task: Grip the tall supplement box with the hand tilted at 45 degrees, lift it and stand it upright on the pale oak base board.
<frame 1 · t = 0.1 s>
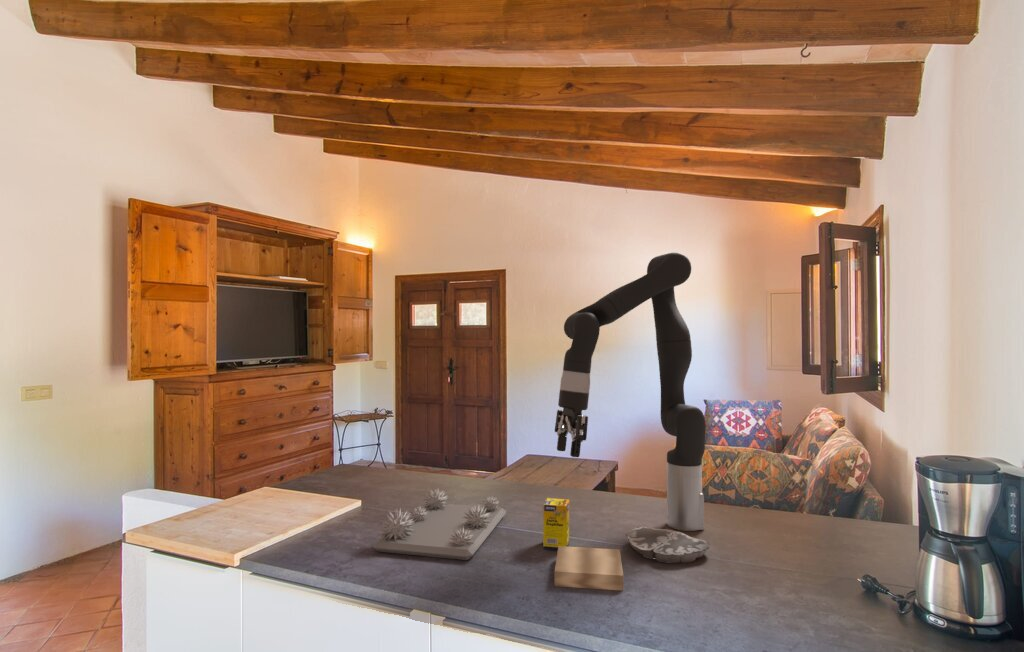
hand: (567, 453, 136), 22 cm above the counter, tool pointing down, fingers open, 8 cm apart
decorative tray: (444, 535, 143), on the counter
oak base board: (588, 573, 117), on the counter
supplement box: (556, 547, 133), on the counter
brain slice: (664, 554, 129), on the counter
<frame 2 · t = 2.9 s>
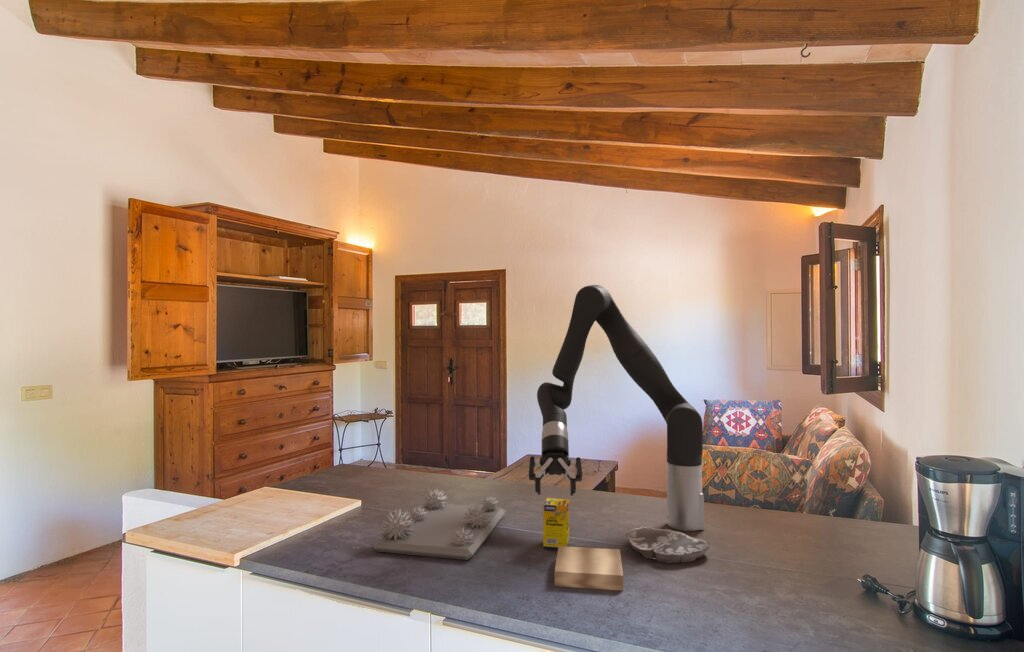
hand: (555, 493, 140), 11 cm above the counter, tool tilted 45°, fingers open, 8 cm apart
nothing on the counter moved.
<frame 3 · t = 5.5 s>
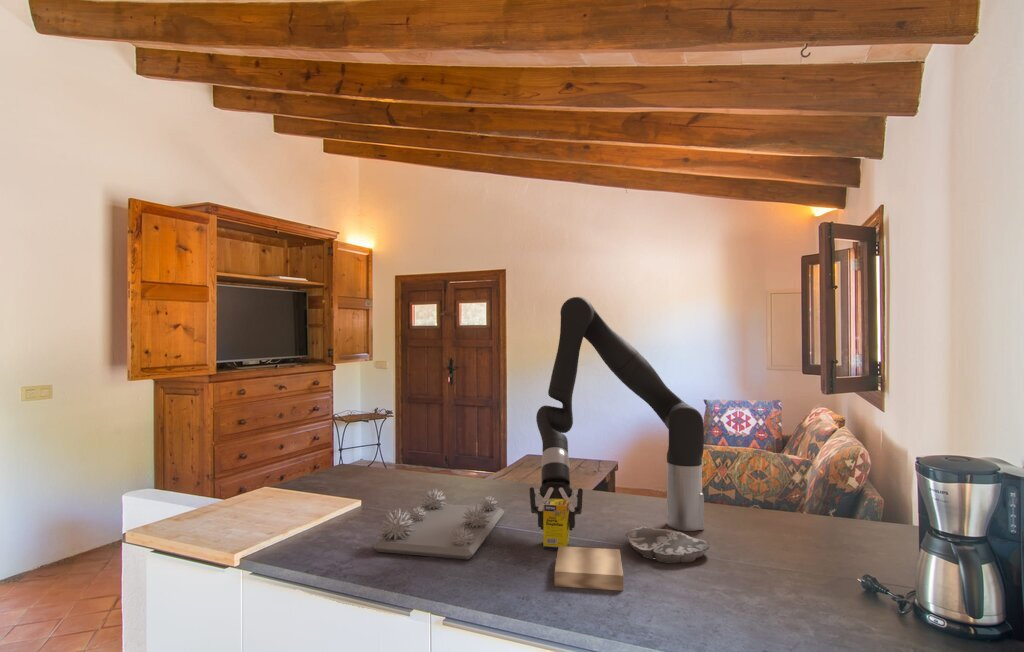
hand: (556, 528, 132), 5 cm above the counter, tool tilted 45°, fingers closed on supplement box, 6 cm apart
supplement box: (556, 546, 133), on the counter, touching gripper
everything else where it was.
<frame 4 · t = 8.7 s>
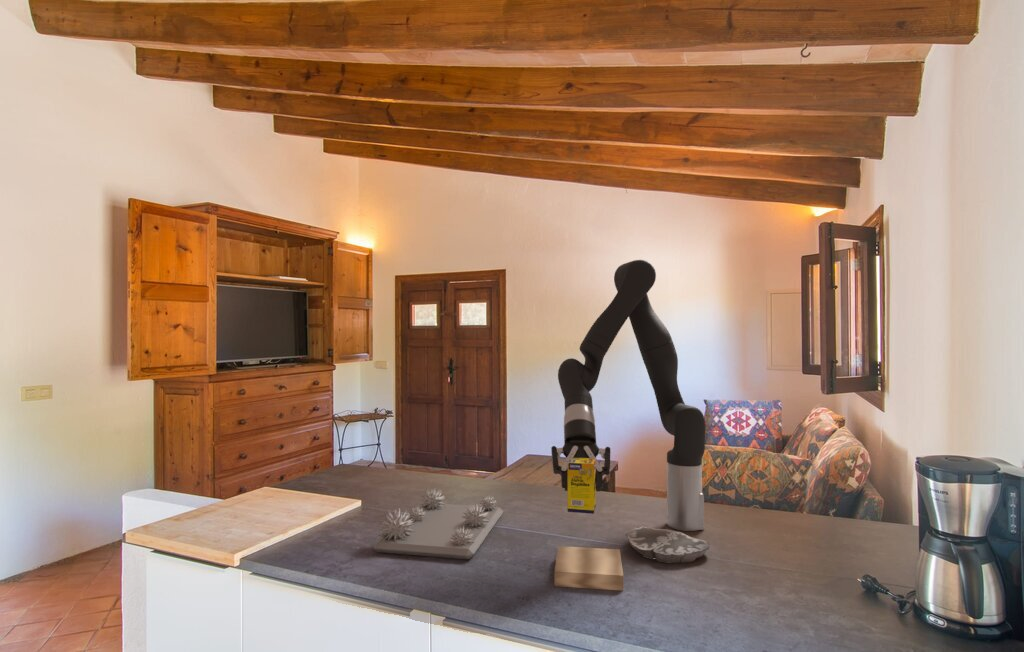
hand: (582, 489, 119), 18 cm above the counter, tool tilted 45°, fingers closed on supplement box, 6 cm apart
supplement box: (582, 510, 120), point 13 cm above the counter, touching gripper
everything else where it was.
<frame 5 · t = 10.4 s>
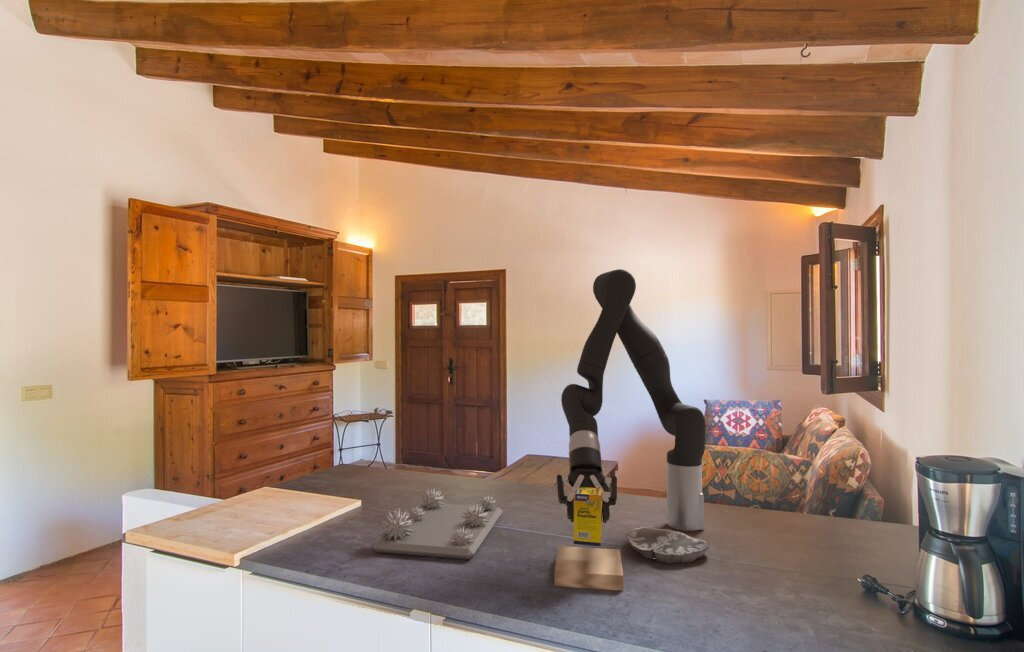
hand: (588, 520, 116), 12 cm above the counter, tool tilted 45°, fingers closed on supplement box, 6 cm apart
supplement box: (587, 541, 118), point 7 cm above the counter, touching gripper
everything else where it was.
when the fingers open (9 cm above the counter, at t = 12.0 s): supplement box drops 1 cm, resting on oak base board.
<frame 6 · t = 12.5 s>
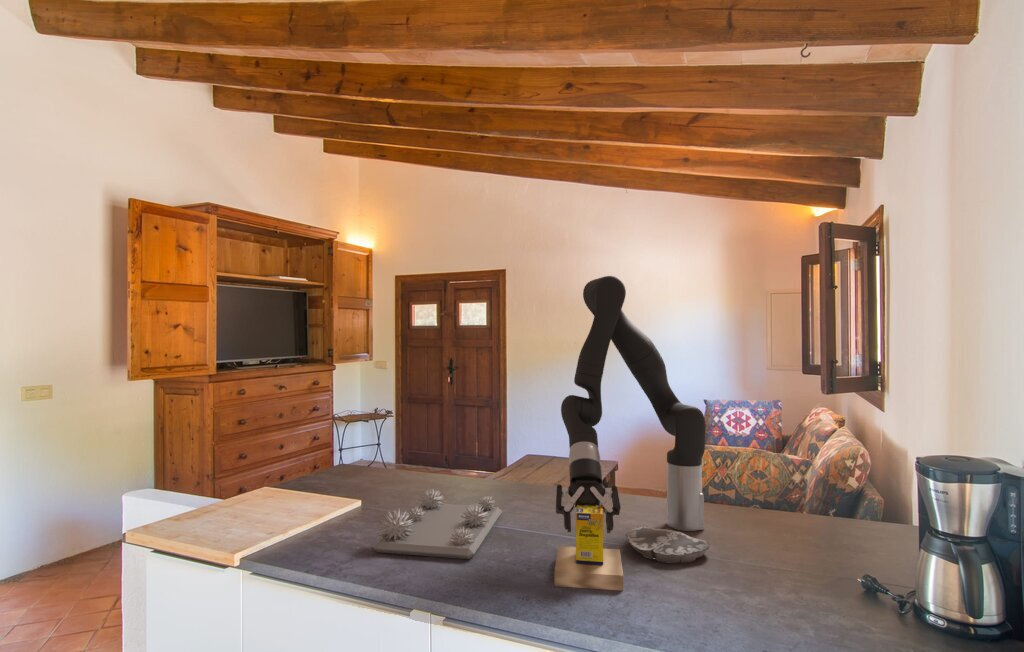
hand: (589, 531, 116), 10 cm above the counter, tool tilted 45°, fingers open, 8 cm apart
supplement box: (589, 560, 117), point 3 cm above the counter, touching oak base board
everything else where it was.
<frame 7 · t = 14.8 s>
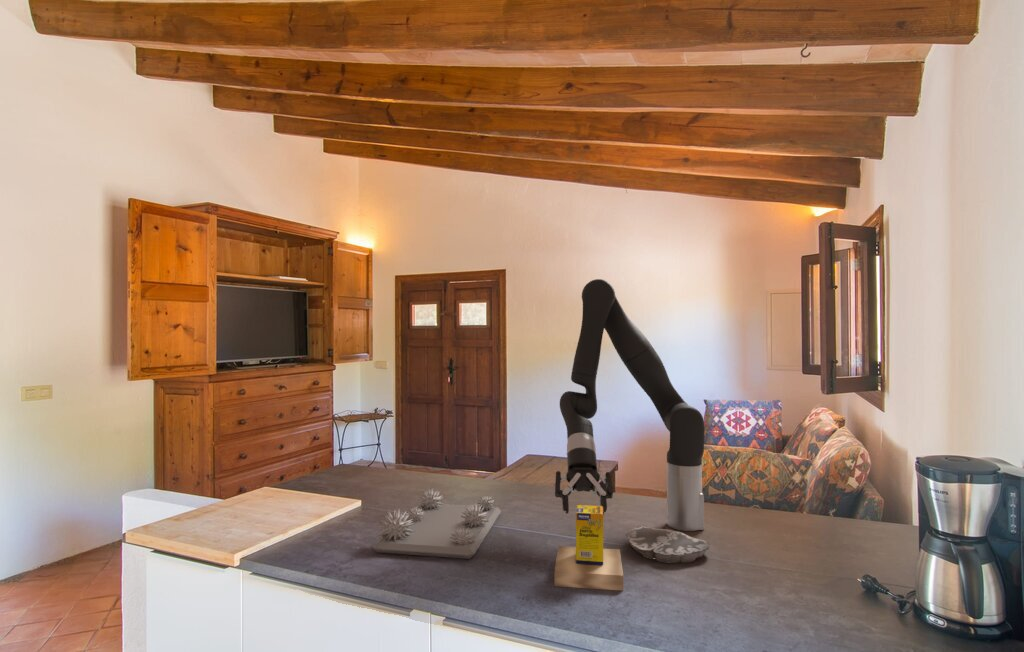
hand: (585, 512, 129), 10 cm above the counter, tool tilted 45°, fingers open, 8 cm apart
nothing on the counter moved.
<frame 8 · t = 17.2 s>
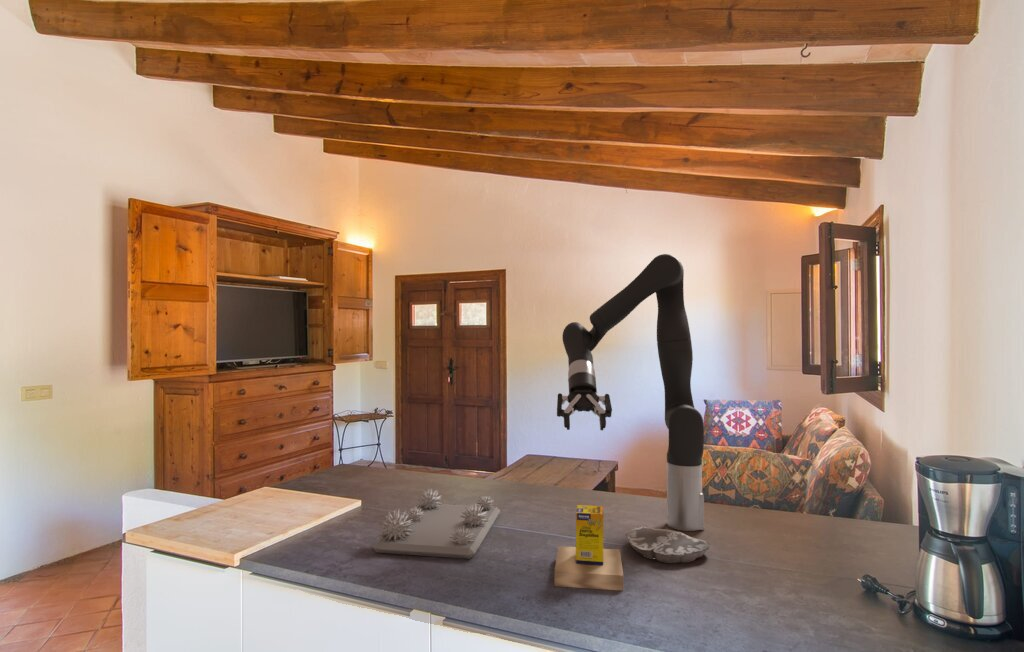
hand: (585, 428, 137), 29 cm above the counter, tool tilted 45°, fingers open, 8 cm apart
at the end: supplement box inside the target area on the oak base board (0.3 cm from its centre), point 2.8 cm above the oak base board's base; supplement box tilted 0°; the gripper is holding nothing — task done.
